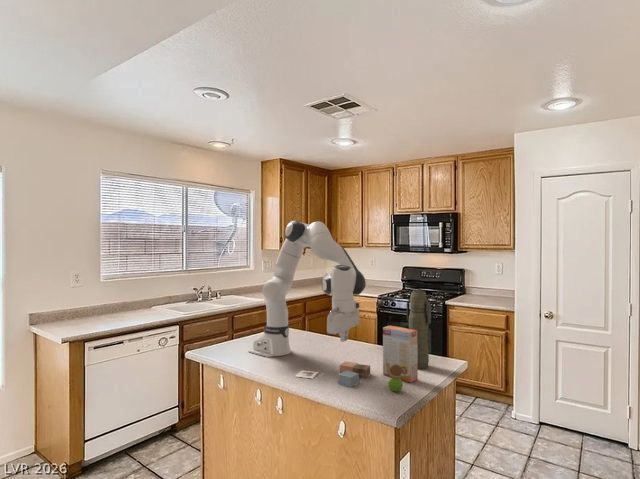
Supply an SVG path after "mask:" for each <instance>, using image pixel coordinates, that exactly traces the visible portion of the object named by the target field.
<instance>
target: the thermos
mask: <svg viewBox="0 0 640 479" xmlns="http://www.w3.org/2000/svg"><path fill="white" fill-rule="evenodd" d="M406 321H407V322H408V329H412V330H417V362H418V363H417V364H418V370H427V369H428V368H429V362H430V360H429V358H430V357H429V356H430V354H429V350H428V331H429V325H430V324H431V323H432V305H431V302H429V301H428V296H427V293H426V291H424V290H421V289H415V290H412V291H411V293H410V296H409V299H408V300H407V302H406Z"/></svg>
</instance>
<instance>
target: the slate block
mask: <svg viewBox="0 0 640 479" xmlns="http://www.w3.org/2000/svg"><path fill="white" fill-rule="evenodd" d="M359 383H360V378H359V373H355V372H351V371H345V372H342V373H340V372H339V373H338V385H341V386H346V387H349V388H352V387H353V386H356V385H357V384H359Z"/></svg>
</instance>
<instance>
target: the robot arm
mask: <svg viewBox="0 0 640 479" xmlns="http://www.w3.org/2000/svg"><path fill="white" fill-rule="evenodd" d="M284 236H285V239H284V242H283V244H282V246H281V248H280V251H279V252H278V256H277V259H276V260H275V264H274V271H273V275H272V278H270V279H268V280H267V281H266V282H265V283H264V284H263V286H262V291H261V292H262V294H263V297H264V302H265V303H264V304H265V307H266V325H264V326H263V327H262V330H263V332H262V333H260V335H258V336H257V337H256V338H254V340H253V345H252V347H250V348H249V349H248V352H249V353H251V354H254V355H259V356H263V357H267V358H271V357H280V356H288V355H289V354H291V353H292V349H291V346H290V337H289V335H290V325H289V309H288V306H287V301H286V296H287V295H288V294H289V293H290V292H291V289H292V285H293V282H294V277H295V273H296V270H297V267H298V265H299V262H300V259H301V257H302V254H303V250H304V249H305V248H306V247H307V248H308V249H310V250H311V252H312V254H313V255H314V256H315V257H316V258H318V259H322V260H324V261H325V260H326V261H332V262H334V263H337V264H336V265H334V266H332V269H331V271H330V272H328V273H325V275H323V277H322V278H321V289H322V290H321V291H323V293H325V295H327V296H331V308H332V309H331V310H330V312H329V313H328V315H327V319H326V332H327V333H328V334H329V335H337V334H338V336H339V340H340V342H342V343H344V342H346V341H348V340H349V339H348V338H349V332H350V329H351V328H354V327H357V326H359V324H360V306H361V303H360V302H357V301H356V300H355V296H358V295H360V294H362V292H363V291H364V290H365V288H366V285H367V283H366V278H365V276H364V274H363V273H362V272H361V271H360V270H359V269H358V268H357V266H356V264H355V263H354V261H353V260H352V258H351V257H350V255H349V253H348V251H347V250H346V249H345V248H344V247H343V246H342V245H340V244H338V243H337V241H336V240H334V239H333V236H332V234H331V232H330V230H329V228H328V227H327V226H326V224H325V223H324V222H322V221H318V220H317V221H314V222H311V223H310V224H309V223H306V222H301V221H298V220H290V222H288V223H287V225H286V226H285V229H284Z"/></svg>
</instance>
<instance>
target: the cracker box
mask: <svg viewBox="0 0 640 479" xmlns="http://www.w3.org/2000/svg"><path fill="white" fill-rule="evenodd" d="M386 359H387V362H388V363H389V364H390V365H389V367H390V368H391V366H393V365H395V364H397V365H399V366H400V367H401V368H402V373H401V374H400V375H402V377H400V379H401V381H402V382H407V383H413V382H415V381H418V378H419V377H418V373H419V372H418V370H419V369H418V364H417V363H418V362H417V330H412V329H409V328H406V327H401V326H394V325H387V326H384V327H382V375H384V376H387V377H390V378H392V377H391V376H390V375H389V373H388V371H387V366H386Z"/></svg>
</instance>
